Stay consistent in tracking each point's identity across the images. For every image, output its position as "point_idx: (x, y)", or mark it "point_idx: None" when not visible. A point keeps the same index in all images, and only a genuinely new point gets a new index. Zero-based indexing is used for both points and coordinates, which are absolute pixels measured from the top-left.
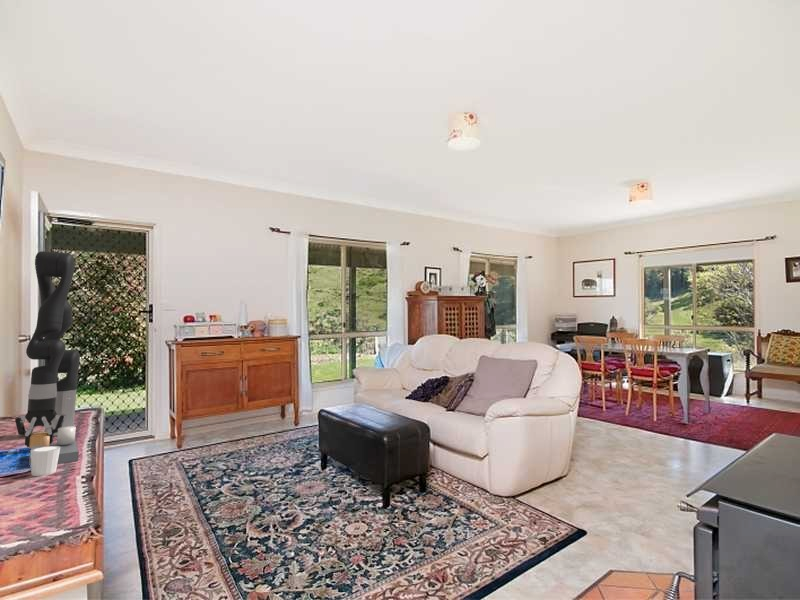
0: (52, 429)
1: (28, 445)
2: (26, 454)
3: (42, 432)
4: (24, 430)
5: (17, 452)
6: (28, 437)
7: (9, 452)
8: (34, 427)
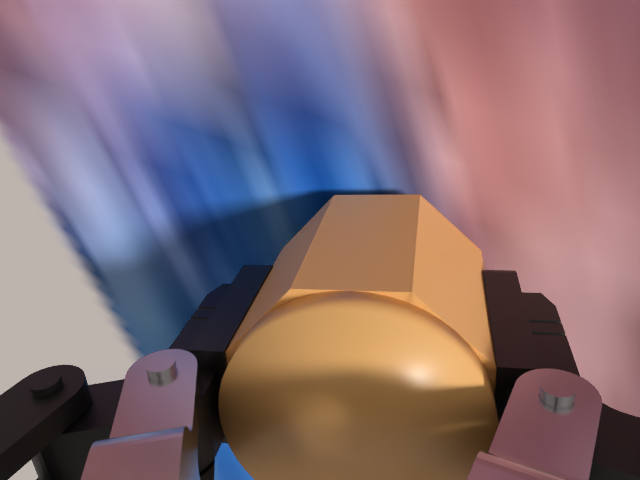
0: (575, 458)
1: None
2: None
3: (366, 357)
4: (67, 440)
5: None
6: None
7: (116, 282)
8: (190, 463)
